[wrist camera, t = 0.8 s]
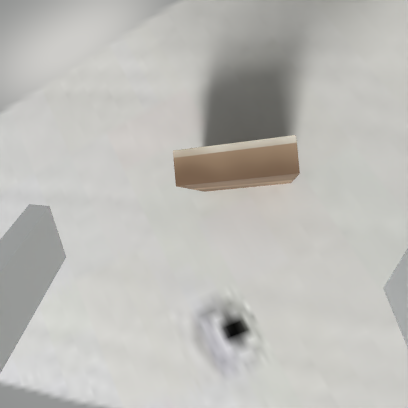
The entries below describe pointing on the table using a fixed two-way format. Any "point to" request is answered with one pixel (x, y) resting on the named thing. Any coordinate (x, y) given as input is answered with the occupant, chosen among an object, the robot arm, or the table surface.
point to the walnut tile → (237, 164)
